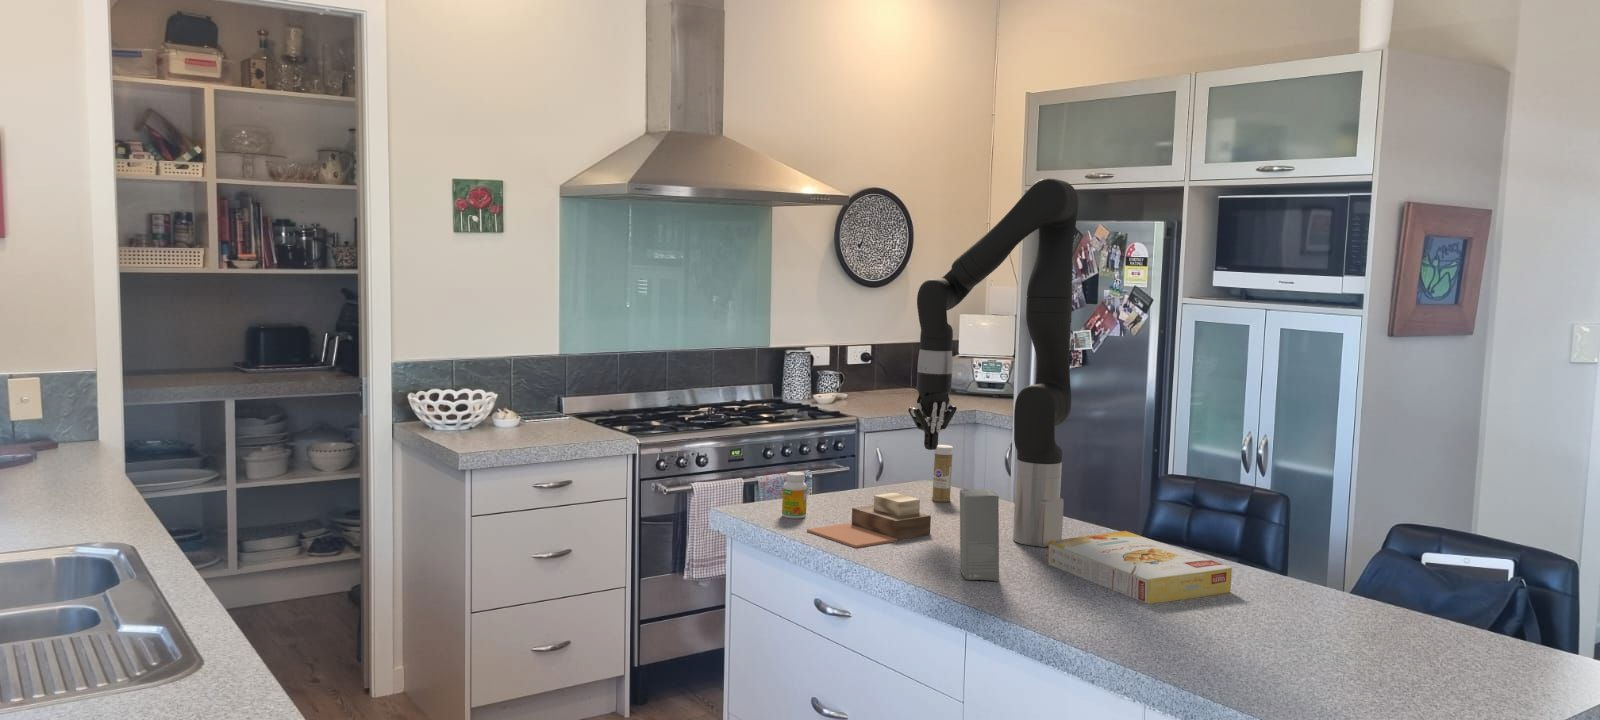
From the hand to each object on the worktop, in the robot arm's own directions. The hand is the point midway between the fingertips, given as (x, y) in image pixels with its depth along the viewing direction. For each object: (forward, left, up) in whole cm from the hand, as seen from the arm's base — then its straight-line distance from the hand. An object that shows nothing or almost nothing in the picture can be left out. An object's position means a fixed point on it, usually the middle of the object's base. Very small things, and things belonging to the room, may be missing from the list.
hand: (930, 449), depth 258 cm
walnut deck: (0, +11, -17) cm, 20 cm away
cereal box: (-52, -4, -18) cm, 55 cm away
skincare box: (-35, +21, -17) cm, 44 cm away
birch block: (0, +9, -11) cm, 15 cm away
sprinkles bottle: (+17, -21, -17) cm, 32 cm away
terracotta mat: (0, +22, -17) cm, 28 cm away
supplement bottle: (+21, +21, -17) cm, 34 cm away
